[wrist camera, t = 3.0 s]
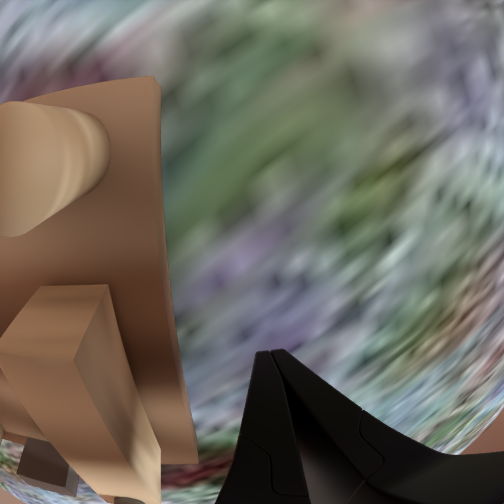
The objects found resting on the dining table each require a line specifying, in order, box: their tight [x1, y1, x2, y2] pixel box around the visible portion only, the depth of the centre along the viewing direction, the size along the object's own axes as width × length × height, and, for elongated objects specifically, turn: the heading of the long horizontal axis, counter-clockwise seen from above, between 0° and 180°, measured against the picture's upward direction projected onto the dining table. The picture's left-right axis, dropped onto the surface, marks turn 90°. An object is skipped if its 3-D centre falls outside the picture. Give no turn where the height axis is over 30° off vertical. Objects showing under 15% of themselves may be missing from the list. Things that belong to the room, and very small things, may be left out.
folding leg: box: [0, 284, 161, 504], centre depth 8 cm, size 10×3×4 cm, turn 179°
